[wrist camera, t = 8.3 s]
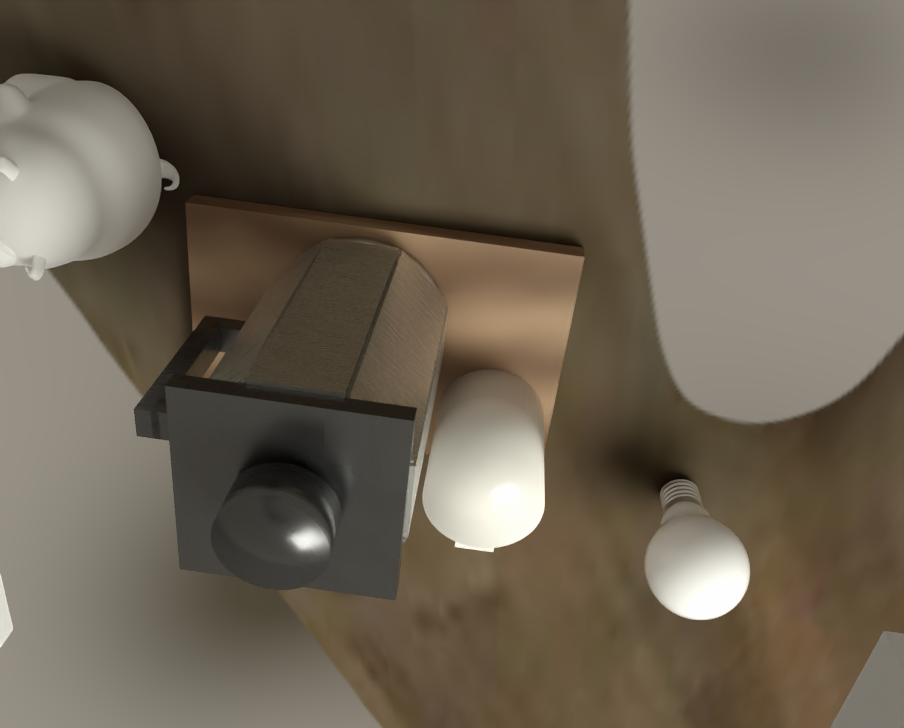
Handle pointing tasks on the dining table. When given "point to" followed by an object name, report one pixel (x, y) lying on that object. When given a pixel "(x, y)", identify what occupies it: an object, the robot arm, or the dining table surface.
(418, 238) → the board
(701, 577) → the lightbulb
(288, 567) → the plunger
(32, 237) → the figurine
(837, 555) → the dining table surface
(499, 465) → the mug
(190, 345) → the carafe
